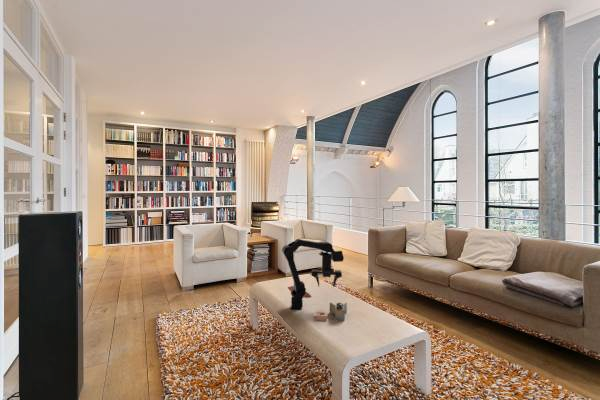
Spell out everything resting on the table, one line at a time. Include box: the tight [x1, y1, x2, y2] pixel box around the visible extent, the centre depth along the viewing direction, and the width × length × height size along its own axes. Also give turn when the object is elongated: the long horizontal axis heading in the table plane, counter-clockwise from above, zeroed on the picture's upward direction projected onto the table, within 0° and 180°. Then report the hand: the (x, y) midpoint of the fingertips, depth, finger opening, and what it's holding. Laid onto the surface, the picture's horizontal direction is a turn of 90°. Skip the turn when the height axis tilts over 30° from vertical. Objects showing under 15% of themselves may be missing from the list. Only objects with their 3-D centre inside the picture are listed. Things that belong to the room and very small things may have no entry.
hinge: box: [329, 302, 348, 322], centre depth 176 cm, size 10×11×6 cm
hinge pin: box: [335, 302, 344, 309], centre depth 173 cm, size 4×4×8 cm
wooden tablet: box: [287, 285, 312, 299], centre depth 218 cm, size 27×10×2 cm, turn 21°
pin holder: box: [315, 311, 328, 321], centre depth 173 cm, size 6×6×2 cm
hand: (326, 286), depth 192 cm, fingers open, 9 cm apart
